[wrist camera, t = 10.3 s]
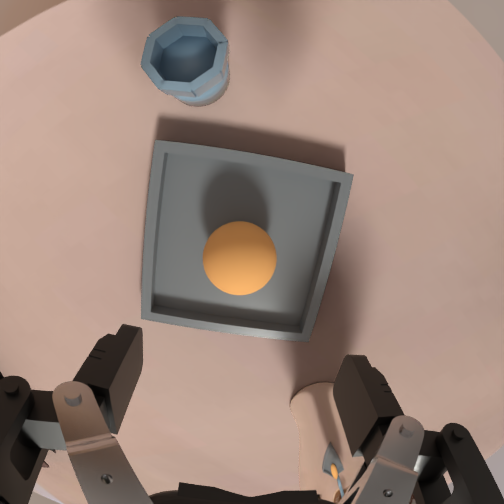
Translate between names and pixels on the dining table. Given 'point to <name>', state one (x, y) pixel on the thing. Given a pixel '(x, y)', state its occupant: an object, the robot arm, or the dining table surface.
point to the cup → (188, 60)
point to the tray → (230, 210)
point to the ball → (239, 258)
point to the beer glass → (322, 443)
